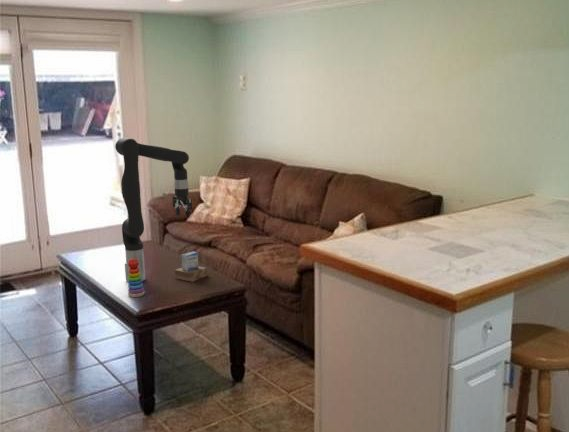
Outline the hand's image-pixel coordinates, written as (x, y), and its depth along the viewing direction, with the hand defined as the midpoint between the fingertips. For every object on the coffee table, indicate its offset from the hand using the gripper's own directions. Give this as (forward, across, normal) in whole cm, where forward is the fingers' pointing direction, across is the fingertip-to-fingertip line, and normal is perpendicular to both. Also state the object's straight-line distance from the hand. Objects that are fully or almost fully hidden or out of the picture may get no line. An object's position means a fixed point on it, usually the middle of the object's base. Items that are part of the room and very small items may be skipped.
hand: (182, 216), depth 334 cm
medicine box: (+26, +14, -8) cm, 31 cm away
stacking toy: (+30, +16, -44) cm, 56 cm away
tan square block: (+31, +15, -8) cm, 35 cm away
